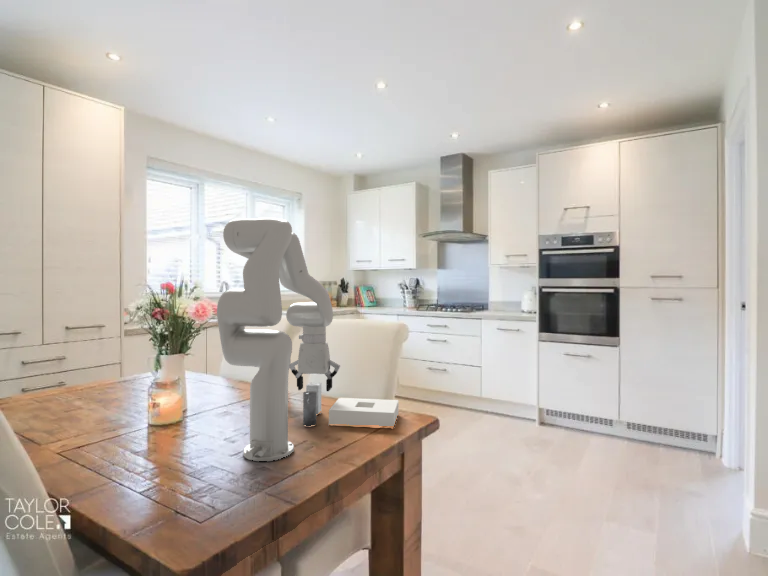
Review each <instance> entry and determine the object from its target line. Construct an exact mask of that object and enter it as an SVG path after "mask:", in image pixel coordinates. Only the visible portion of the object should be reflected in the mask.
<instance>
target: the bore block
mask: <svg viewBox="0 0 768 576" xmlns="http://www.w3.org/2000/svg"><path fill="white" fill-rule="evenodd" d="M397 415H398V416H399V400H398V399H385V398H384V399H378V398H360V397H359V398H358V397H357V398H356V397H354V398H353V397H338V399H336V401H335V402H334V403H333V405H332V406H331V407H330V408H329V409H328V425H329V424H347V425H348V424H349V425H379V426H394V424H395V421H396V418H397ZM397 419H398V418H397ZM396 422H397V421H396ZM395 425H396V424H395Z"/></svg>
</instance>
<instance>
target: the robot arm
mask: <svg viewBox="0 0 768 576" xmlns="http://www.w3.org/2000/svg"><path fill="white" fill-rule="evenodd" d="M222 234H223V235H222V236H223V237H222V238H223V240H224V243H225V245H226V247H227V248H228V249H229V250H230V251H231V252H232V253H235V254H237V255H240V256H242V257H244V258H246V259H247V261H246V262H245V264H244V266H243V270H242V280H243V288H231V289H227V290H226V291H224V292H223V293H222V294H221V295H220V297H219V299H218V301H217V306H216V318H217V319H216V320H217V324H218V325H217V326H218V331H219V338H220V344H221V350H222V355H223V358H224V359H225V361H226V362H227V363H228V364H229V365H231V366H238V367H254V368H259V369H258V371H257V373H256V374H255V375H254V376H253V378H252V379H251V382H250V385H249V444H248V445H246V446H245V447H244V448H243V457H244V458H245V459H247V460H249V461H252V460H253V461H254V462H259V461H267V462H274V461H273V460H275V461H278V459H279V460H282V459H281V458H283V457H285V458H287V457H289V456H290V454H291V453H292V452H294V451H295V445H294V443H293V442H291V441H289V401H288V400H289V371H291V373H292V374H293V375H294V376H295V379H296V387H297V390H298V391H301V390H302V389H304V376H303V374H304V375H305V374H306V375H325V376H326V380H325V381H326V382H325V384H326V385H325V387H326V392H330V391H331V390H332V388H333V378H334V377H335V376H336V375H337V374H338V372H339V370H340V368H341V365H340V364H338V363H337V362H334V361H332V360H331V357H330V356H331V355H330V348H329V343H328V342H327V341H326V339H327V337H326V336H327V335H326V334H327V331H326V330H327V328H326V327H329V326H330V325H331V323H332V322H333V318H334V312H333V310H334V309H333V305H332V301H331V297H330V295H329V292H328V291H327V289H326V288H325V287H324V286H323V285H322V284H321V283H320V282H319V281H318V280H317V279H316V278H315V277H313V276H311V274H309V271H308V266H307V264H306V260H305V256H304V253H303V248H302V245H301V241H300V238H299V237H298V235H297V234H296V233H295V232H293V228H292V225H291V223H290V222H289V221H288V220H286V219H283V218H276V217H257V218H254V217H253V218H234V219H231V220H230V221H228V222H227V223H226V224H225V226H224V229H223V233H222ZM280 284H281V285H282V287H284V288H286V289H287V290H289V291H291V292H294V293H296V294H298V295H301V296H304V297H306V298H308V299H310V301H307V302H294V303H292V304H291V305H289V307H288V308H287V310H286V315H285V316H286V320H287V322H288V324H289V325H291V326H293V327H302V334H299V335H298V339H299V340H301V341H302V342H300V344H299V349H298V356H297V357H298V358H297V360H295V361H293V362H292V363H291V364H290V358H292V353H293V342H292V338H291V336H290V335H289V334H288V333H286V332H284V331H282V330H278V329H277V330H276V329H262V328H266V327H267V328H269V327H273V326H276V325H278V324H279V323H280V322H281V320H282V316H283V304H282V293H281V286H280ZM245 327H250V328H252V327H253V328H261V329H248V328H247V329H246V328H245ZM296 366H297V369H296ZM289 367H290V368H289ZM331 367H333V371H331ZM292 454H293V453H292ZM292 454H291V455H292ZM288 455H289V456H288ZM286 456H287V457H286ZM283 459H284V458H283ZM253 461H252V462H253Z"/></svg>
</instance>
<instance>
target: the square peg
mask: <svg viewBox="0 0 768 576" xmlns="http://www.w3.org/2000/svg"><path fill="white" fill-rule="evenodd" d="M305 387H306V390H305V392H307V391H315V392H316V414H318V413H319V412H320V411H321V412H322V382H308V383H307V384H306V386H305Z"/></svg>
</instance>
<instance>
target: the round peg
mask: <svg viewBox="0 0 768 576" xmlns="http://www.w3.org/2000/svg"><path fill="white" fill-rule="evenodd" d="M302 399H303V400H302V402H303V406H302V407H303V409H302V425H306V426H311V425H315V424H316V425H317V416H316V392H315V391H307V392H306V391H304V392H303V394H302Z"/></svg>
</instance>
